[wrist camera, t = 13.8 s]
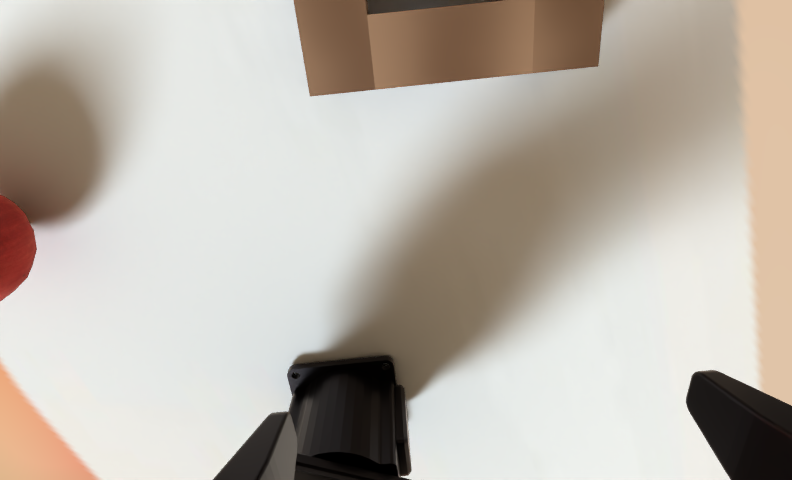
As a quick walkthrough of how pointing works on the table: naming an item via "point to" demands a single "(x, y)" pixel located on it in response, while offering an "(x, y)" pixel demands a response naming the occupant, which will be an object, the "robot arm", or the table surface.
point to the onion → (14, 247)
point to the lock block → (443, 42)
